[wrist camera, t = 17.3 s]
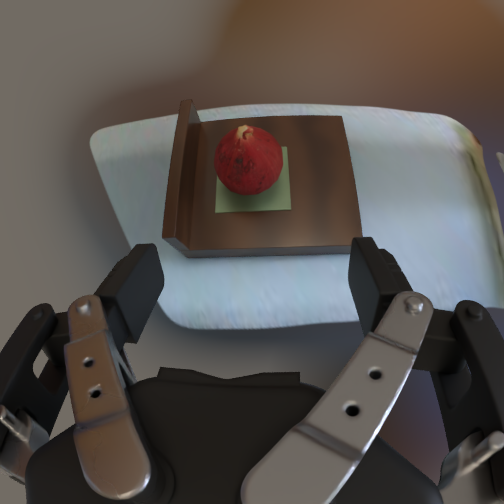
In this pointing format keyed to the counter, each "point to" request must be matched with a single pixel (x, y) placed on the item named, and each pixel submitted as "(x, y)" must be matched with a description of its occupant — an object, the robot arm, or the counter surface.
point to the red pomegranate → (248, 160)
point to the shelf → (269, 201)
